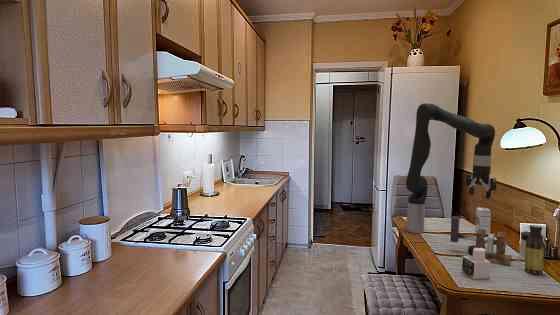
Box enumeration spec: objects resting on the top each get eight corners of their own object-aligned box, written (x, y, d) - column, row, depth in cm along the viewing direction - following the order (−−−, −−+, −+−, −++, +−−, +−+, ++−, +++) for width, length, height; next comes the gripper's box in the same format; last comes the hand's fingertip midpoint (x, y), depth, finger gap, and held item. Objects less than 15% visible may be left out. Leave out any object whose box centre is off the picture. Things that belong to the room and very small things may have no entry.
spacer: (487, 252, 148) (487, 237, 147) (488, 247, 153) (489, 233, 153) (492, 253, 147) (492, 238, 146) (493, 248, 152) (494, 234, 152)
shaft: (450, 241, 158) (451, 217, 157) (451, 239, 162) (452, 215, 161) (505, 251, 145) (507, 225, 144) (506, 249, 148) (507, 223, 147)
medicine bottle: (461, 271, 136) (462, 244, 135) (477, 271, 136) (478, 243, 135) (473, 279, 129) (474, 250, 128) (489, 278, 129) (491, 249, 128)
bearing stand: (468, 257, 150) (469, 232, 150) (472, 250, 160) (473, 226, 159) (510, 266, 141) (511, 239, 140) (511, 257, 150) (512, 233, 149)
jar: (546, 261, 146) (548, 235, 145) (536, 264, 142) (538, 238, 141) (524, 254, 154) (526, 230, 153) (514, 257, 150) (516, 232, 149)
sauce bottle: (546, 276, 131) (549, 228, 129) (527, 274, 133) (530, 227, 131) (538, 269, 137) (541, 224, 136) (521, 268, 139) (524, 223, 137)
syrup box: (490, 234, 183) (491, 210, 182) (478, 234, 185) (480, 209, 183) (485, 231, 189) (487, 207, 188) (474, 231, 190) (476, 207, 189)
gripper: (463, 163, 163) (461, 194, 165) (490, 166, 150) (488, 200, 152) (473, 162, 166) (471, 193, 168) (501, 165, 153) (499, 199, 154)
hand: (479, 196), depth 160 cm, fingers open, 8 cm apart
